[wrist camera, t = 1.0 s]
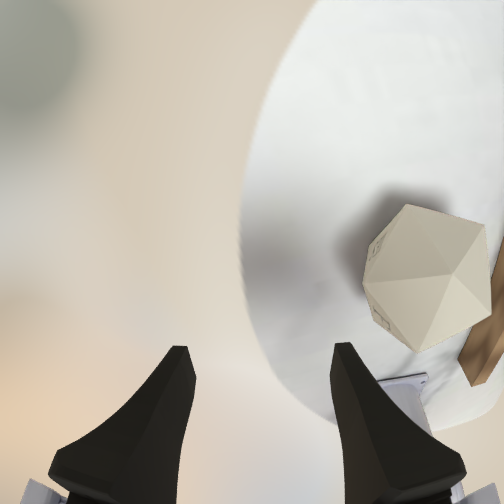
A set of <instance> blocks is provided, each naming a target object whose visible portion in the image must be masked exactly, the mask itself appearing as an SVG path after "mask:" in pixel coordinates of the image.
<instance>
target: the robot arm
mask: <svg viewBox="0 0 504 504" xmlns="http://www.w3.org/2000/svg"><path fill="white" fill-rule="evenodd" d="M428 378H429V377H428V374H421V375H416V376H410V377H405V378H399V379H393V380H386V381H379V382H377V381H376V380H375V378H374V377H373V376H372V374H371V373H370V371H369V370H368V369H367V367H366V366H365V364H364V363H363V361H362V360H361V358H360V357H359V355H358V353H357V352H356V350H355V349H354V347H353V345H352V344H351V343H350V342H345V343H335V347H334V353H333V359H332V365H331V371H330V384H331V393H332V400H333V404H334V409H335V414H336V418H337V423H338V428H339V432H340V437H341V443H342V449H343V463H344V479H345V480H344V481H345V504H500V500H499V497H498V493H497V489H496V486H495V483H491V484H490V485H487V486H486V487H483V488H481V489H479V490H477V491H475V492H473V493H471V494H469V495H467V496H466V497H465V495H464V491H463V487H462V483H461V480H462V479H463V478H464V477H465V476H466V474H467V472H466V469H465V465H464V462H463V460H462V458H461V456H460V454H459V453H457V452H456V451H454V450H452V449H450V448H449V447H447V446H445V445H444V444H442V443H441V442H439V441H438V440H436V439H435V438H434V437H433V436H432V433H431V430H430V426H429V423H428V420H427V418H426V415H425V412H424V409H423V406H422V403H421V400H420V398H419V395H420V393H421V391H422V390H423V388H424V386H425V384H426V382H427V380H428ZM195 385H196V374H195V371H194V368H193V364H192V361H191V358H190V354H189V351H188V347H187V346H172V348H171V349H170V350H169V351H168V353H167V354H166V355H165V357H164V358H163V360H162V361H161V362H160V363H159V365H158V366H157V367H156V369H155V370H154V371H153V372H152V374H151V375H150V376H149V377H148V379H147V380H146V381H145V382H144V384H143V385H142V386H141V387H140V388H139V389H138V390H137V391H136V393H135V394H134V395H133V396H132V397H131V398H130V399H129V400H128V401H127V402H126V403H125V404H124V405H123V406H122V407H121V408H120V409H119V410H118V411H117V412H116V413H114V414H113V415H112V416H111V417H110V418H108V419H107V420H106V421H105V422H103V423H102V424H101V425H100V426H98V427H97V428H95V429H94V430H92V431H91V432H90V433H88V434H86V435H85V436H83V437H82V438H80V439H78V440H77V441H75V442H73V443H71V444H69V445H67V446H65V447H63V448H61V449H59V450H57V452H56V454H55V456H54V459H53V461H52V464H51V467H50V469H49V472H48V475H49V477H50V478H51V479H52V480H53V481H55V482H56V483H58V484H59V485H60V486H62V487H64V488H65V489H66V490H68V491H69V492H70V493H69V496H68V498H66V497H63V496H61V495H60V494H59V493H57V492H56V491H54V490H53V489H51V488H49V487H47V486H45V485H43V484H41V483H39V482H37V481H35V480H33V479H29V482H28V485H27V487H26V490H25V492H24V495H23V497H22V500H21V503H20V504H176V498H177V482H178V471H179V462H180V454H181V447H182V443H183V438H184V434H185V430H186V426H187V423H188V419H189V415H190V411H191V407H192V403H193V399H194V393H195Z"/></svg>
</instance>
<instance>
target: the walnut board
mask: <svg viewBox="0 0 504 504" xmlns="http://www.w3.org/2000/svg"><path fill="white" fill-rule="evenodd" d="M490 284H491V315H490V316H488V317H487V318H485V319H483V320H481V321H480V322H478V323H476V324H475V325H473V328H472V330H471V332H470V334H469V337H468V339H467V341H466V343H465V345H464V347H463V349H462V351H461V353H460V355H459V357H458V359H457V360H458V361H459V363H460V365H461V367H462V369H463V371H464V373H465V375H466V377H467V379H468V381H469V383H470V385H471V387H473V386H476V385H479V384H482V383H485V382H486V381H487V379H488V377H489V376H490V374H491V373H492V371H493V369H494V368H495V366H496V364H497V363H498V361H499V359H500V358H501V356H502V354H503V352H504V238H503V242H502V246H501V249H500V253H499V256H498V260H497V263H496V266H495V269H494V272H493V275H492V278H491V281H490Z"/></svg>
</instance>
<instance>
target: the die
mask: <svg viewBox="0 0 504 504" xmlns="http://www.w3.org/2000/svg"><path fill="white" fill-rule="evenodd" d="M362 284H363V287H364V290H365V294H366V297H367V300H368V303H369V307H370V310H371V313H372V317H373V320H374V321H375V322H376V323H377V324H379V325H380V326H381V327H383V328H384V329H385V330H387V331H388V332H389V333H391V334H392V335H393V336H394V337H396V338H397V339H398V340H400V341H401V342H402V343H404V344H405V345H406V346H408V347H409V348H410V349H411V350H413V351H414V352H415V353H417V354H418V353H420V352H422V351H424V350H426V349H428V348H430V347H432V346H435V345H437V344H439V343H441V342H443V341H445V340H447V339H449V338H450V337H452V336H454V335H456V334H458V333H460V332H462V331H464V330H466V329H467V328H469V327H471V326H473V325H475V324H476V323H478V322H480V321H481V320H483V319H485V318H487V317H488V316H490V315H491V284H490V269H489V258H488V249H487V241H486V233H485V227H484V225H483V224H480V223H476V222H473V221H470V220H466V219H463V218H459V217H456V216H452V215H449V214H445V213H441V212H437V211H434V210H430V209H426V208H422V207H418V206H414V205H410V204H406V205H405V206H404V207H403V208H402V209H401V210H400V212H399V213H398V214H397V215H396V216H395V217H394V218H393V220H392V221H391V222H390V223H389V224H388V225H387V226H386V227H385V228H384V230H383V231H382V232H381V233H380V234H379V235H378V236H377V237H376V238H375V239H374V241H373V242H372V243H371V244H370V245H369V248H368V254H367V260H366V266H365V272H364V277H363V283H362Z"/></svg>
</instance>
